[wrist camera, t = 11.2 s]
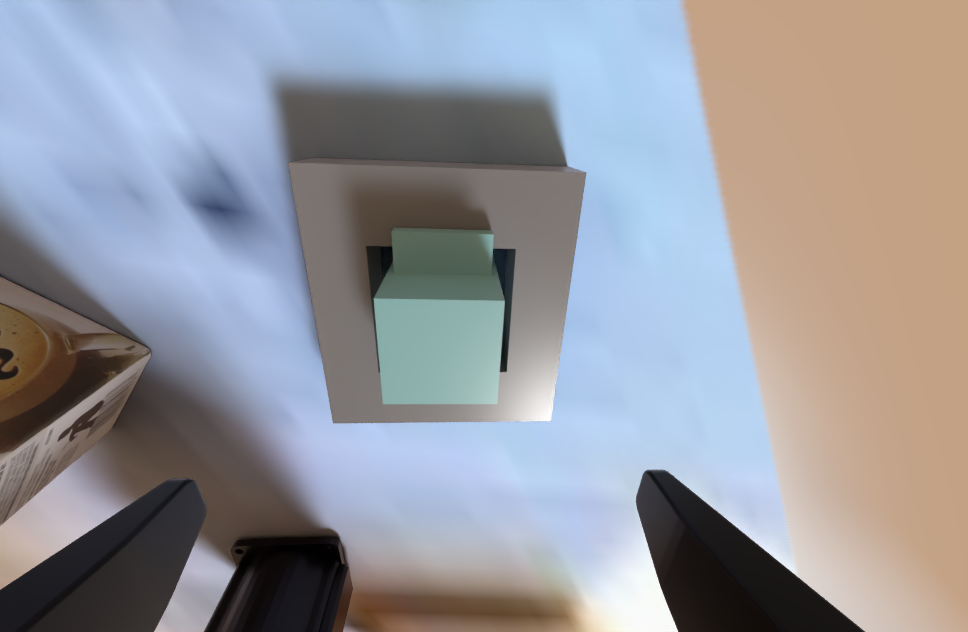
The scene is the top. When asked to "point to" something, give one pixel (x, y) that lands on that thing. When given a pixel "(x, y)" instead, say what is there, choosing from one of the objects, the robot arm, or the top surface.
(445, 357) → the block
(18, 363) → the coffee box
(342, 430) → the top surface
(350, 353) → the pocket plate
